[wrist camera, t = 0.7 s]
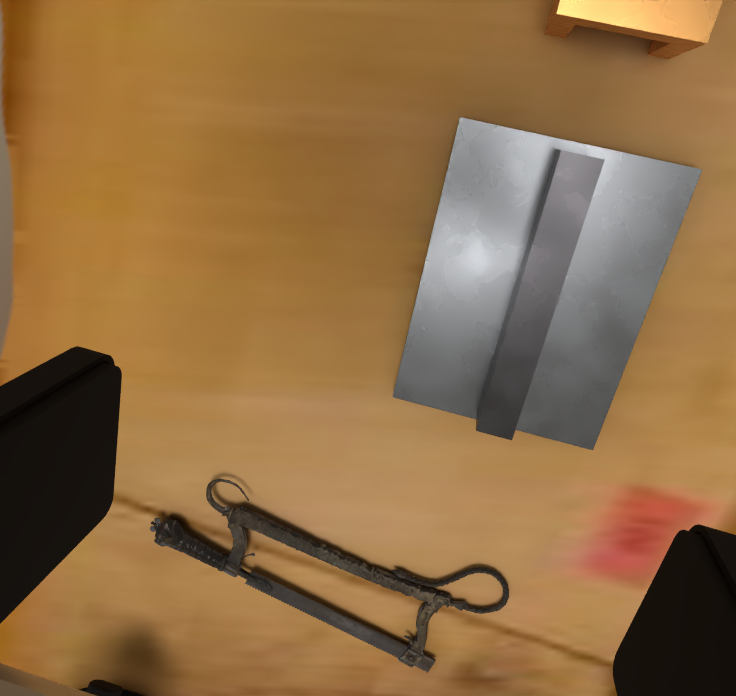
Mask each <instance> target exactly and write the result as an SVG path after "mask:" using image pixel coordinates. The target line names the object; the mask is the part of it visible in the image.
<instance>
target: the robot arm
mask: <svg viewBox="0 0 736 696" xmlns="http://www.w3.org/2000/svg"><path fill="white" fill-rule="evenodd" d="M121 379H122V374H121V369H120V368H119V367H118V366H115V365H114V361H113V358H112V357H111V356H110V355H106V354H103V353H99V352H96V351H93V350H89V349H86V348H82V347H78V346H77V347H73V348H71V349H69V350H67V351H65V352H64V353H62V354H60V355H58V356H56V357H54V358H52V359H50V360H49V361H47V362H45V363H43V364H41V365H39V366H37V367H35V368H34V369H32V370H30V371H28V372H26V373H24V374H22V375H20V376H19V377H17V378H15V379H13V380H11V381H9V382H7V383H5V384H4V385H2V386H0V623H1V622H2V621H3V620H4V619H5V618H6V617H7V616H8V615H9V614H10V613H11V612H12V611H13V610H14V609H15V608H16V607H17V606H18V605H19V604H20V603H21V602H22V601H23V600H24V599H25V598H26V597H27V596H28V595H29V594H30V593H31V592H32V591H33V590H34V589H35V588H36V587H37V586H38V585H39V584H40V583H41V582H42V581H43V580H44V579H45V577H46V576H47V575H48V574H49V573H50V572H51V571H52V570H53V569H54V568H55V567H56V566H57V565H58V564H59V563H60V562H61V561H62V560H63V559H64V558H65V557H66V556H67V555H68V554H69V553H70V552H71V551H72V550H73V549H74V548H75V547H76V546H77V545H78V544H79V543H80V542H81V541H82V540H83V539H84V538H85V537H86V536H87V535H88V534H89V533H90V532H91V531H92V530H93V528H94V527H95V526H96V525H97V524H98V523H99V522H100V521H101V520H102V519H103V518H104V517H105V516H106V514H107V512H108V511H109V509H110V506H111V504H112V501H113V494H114V479H115V465H116V451H117V436H118V422H119V408H120V393H121ZM613 678H614V683H615V687H616V692H617V696H736V535H734V534H730V533H727V532H723V531H720V530H717V529H713V528H710V527H706V526H703V525H699V524H698V525H695V526H693V527H692V528H691V529H690V530H689V531H686V530H681V531H679V532H678V533H677V535H676V536H675V538H674V540H673V542H672V544H671V546H670V548H669V550H668V551H667V553H666V555H665V557H664V559H663V561H662V563H661V565H660V567H659V569H658V571H657V573H656V575H655V577H654V579H653V581H652V583H651V585H650V587H649V589H648V591H647V593H646V595H645V597H644V599H643V601H642V603H641V605H640V607H639V609H638V611H637V613H636V615H635V617H634V619H633V621H632V623H631V625H630V627H629V629H628V631H627V633H626V635H625V637H624V638H623V640H622V642H621V644H620V646H619V648H618V650H617V653H616V655H615V659H614V664H613ZM0 696H96V695H93V694H90V693H87V692H84V691H81V690H78V689H75V688H72V687H69V686H66V685H63V684H60V683H57V682H54V681H51V680H48V679H45V678H42V677H39V676H36V675H34V674H31V673H28V672H25V671H22V670H19V669H16V668H13V667H10V666H7V665H4V664H1V663H0Z"/></svg>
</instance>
